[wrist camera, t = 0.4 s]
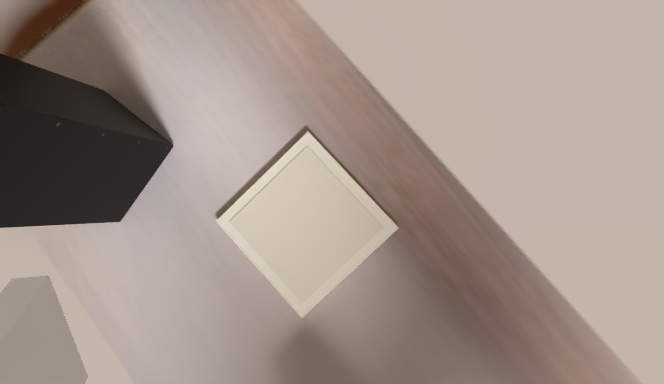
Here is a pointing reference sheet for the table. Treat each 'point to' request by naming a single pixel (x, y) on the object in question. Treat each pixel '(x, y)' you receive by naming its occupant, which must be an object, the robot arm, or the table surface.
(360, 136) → the table surface
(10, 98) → the tissue box
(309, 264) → the coaster
